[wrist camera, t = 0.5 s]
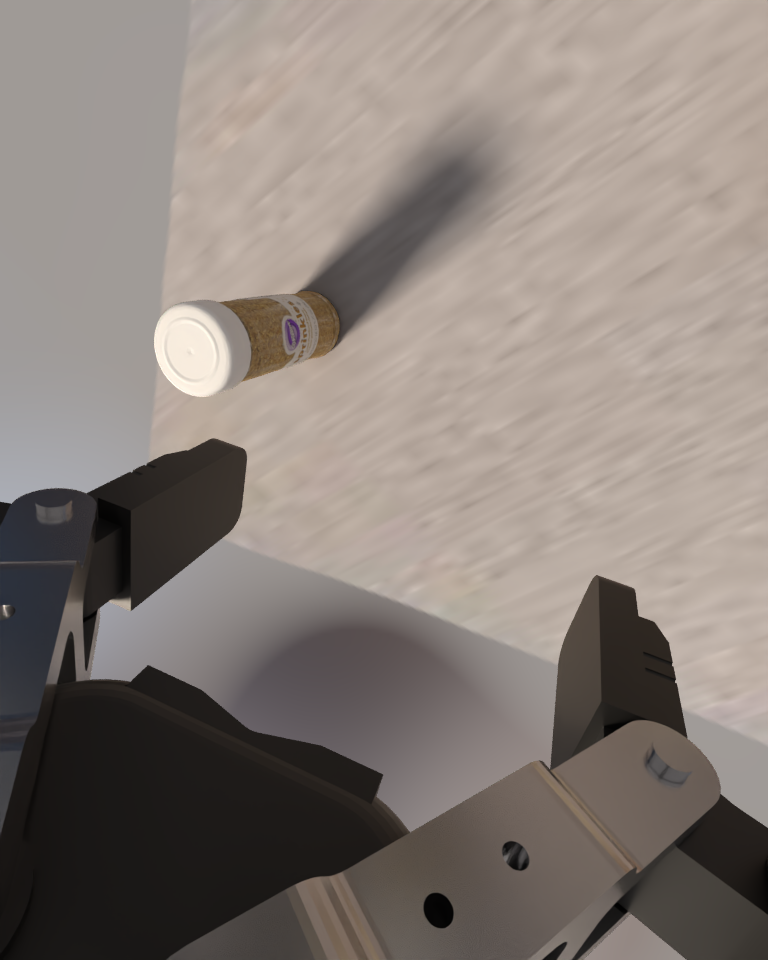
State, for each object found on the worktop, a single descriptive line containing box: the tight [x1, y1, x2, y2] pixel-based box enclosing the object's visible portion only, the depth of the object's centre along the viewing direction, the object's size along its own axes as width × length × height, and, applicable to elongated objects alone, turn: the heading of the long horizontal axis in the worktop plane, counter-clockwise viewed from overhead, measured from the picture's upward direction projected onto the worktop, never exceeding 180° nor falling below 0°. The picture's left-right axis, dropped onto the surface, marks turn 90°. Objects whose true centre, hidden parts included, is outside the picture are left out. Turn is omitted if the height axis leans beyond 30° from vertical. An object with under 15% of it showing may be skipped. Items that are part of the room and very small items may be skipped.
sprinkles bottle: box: [154, 291, 340, 397], centre depth 33 cm, size 5×5×14 cm
